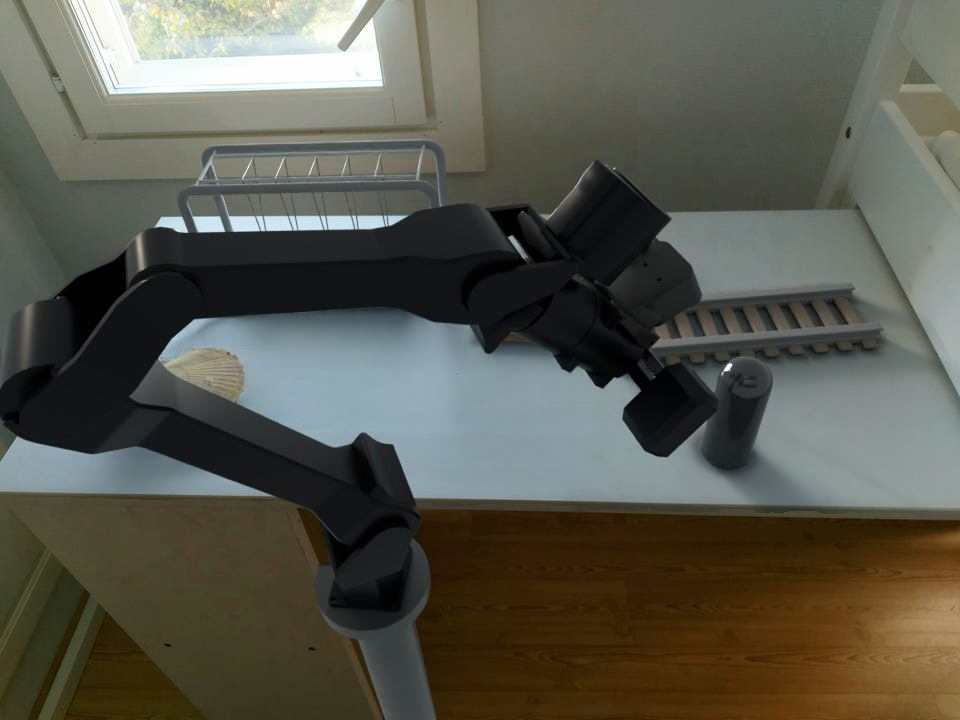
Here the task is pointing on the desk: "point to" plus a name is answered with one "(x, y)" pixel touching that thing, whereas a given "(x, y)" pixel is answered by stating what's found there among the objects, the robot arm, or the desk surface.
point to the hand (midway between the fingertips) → (676, 379)
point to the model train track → (761, 335)
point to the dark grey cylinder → (737, 412)
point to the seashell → (210, 371)
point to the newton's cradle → (312, 187)
